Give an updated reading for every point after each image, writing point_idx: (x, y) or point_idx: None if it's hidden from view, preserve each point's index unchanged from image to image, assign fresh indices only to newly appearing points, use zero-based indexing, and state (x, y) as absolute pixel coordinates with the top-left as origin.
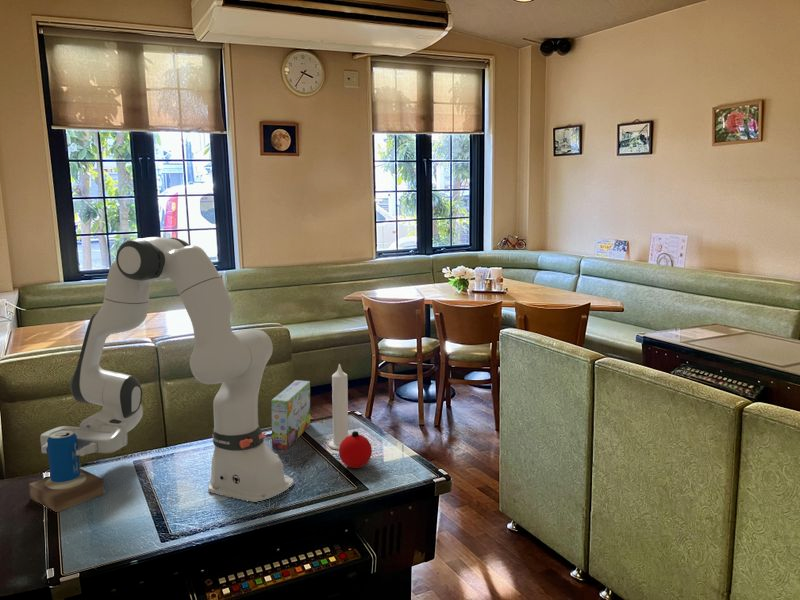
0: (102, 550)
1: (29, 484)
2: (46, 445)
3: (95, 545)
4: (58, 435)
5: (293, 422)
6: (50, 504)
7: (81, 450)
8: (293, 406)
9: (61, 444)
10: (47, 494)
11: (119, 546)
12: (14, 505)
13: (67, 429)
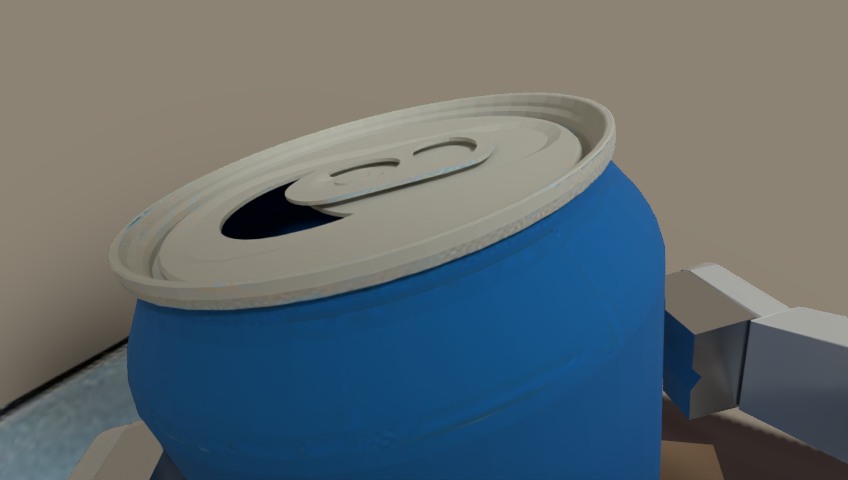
0: (98, 399)
1: (706, 446)
2: (710, 294)
3: (125, 405)
4: (392, 156)
5: None
6: None
7: (107, 434)
8: None
9: (295, 230)
10: None
11: (42, 434)
12: (681, 431)
13: (441, 240)
